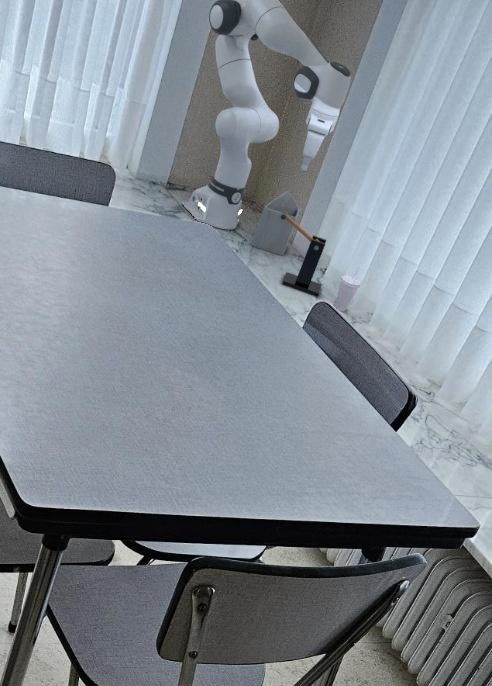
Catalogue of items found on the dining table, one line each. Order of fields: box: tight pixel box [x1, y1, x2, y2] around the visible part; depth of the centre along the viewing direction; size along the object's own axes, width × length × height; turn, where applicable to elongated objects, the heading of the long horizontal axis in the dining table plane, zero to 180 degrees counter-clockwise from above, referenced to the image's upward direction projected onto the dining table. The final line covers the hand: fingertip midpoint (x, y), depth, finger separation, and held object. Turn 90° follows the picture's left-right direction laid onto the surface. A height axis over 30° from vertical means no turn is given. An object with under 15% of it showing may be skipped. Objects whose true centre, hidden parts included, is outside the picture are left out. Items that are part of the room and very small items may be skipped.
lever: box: [281, 210, 319, 242], centre depth 312 cm, size 16×5×2 cm, turn 77°
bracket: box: [281, 235, 327, 298], centre depth 317 cm, size 12×9×16 cm
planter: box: [250, 190, 301, 256], centre depth 337 cm, size 16×8×19 cm, turn 123°
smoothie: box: [333, 267, 362, 312], centre depth 310 cm, size 6×6×14 cm
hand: (305, 165), depth 311 cm, fingers open, 8 cm apart
